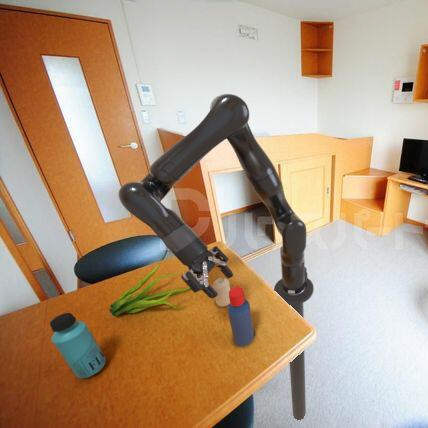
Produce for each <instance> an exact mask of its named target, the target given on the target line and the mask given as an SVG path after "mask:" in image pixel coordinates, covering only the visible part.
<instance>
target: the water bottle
mask: <svg viewBox="0 0 428 428" xmlns="http://www.w3.org/2000/svg"><path fill="white" fill-rule="evenodd" d="M227 306H228V307H227V314H228V319H229V324H230V328H231V334H232V339H233V343H234V344H235V346H237V347H245V346H248V345H249V344H251V343H252V341H254V338H255V331H254V323H253V317H252V311H251V304H250V302H249V301H248V300H247V299H246V298H245V301H244V303H243V304H242V305H240V306H236V307H235V306H232V305H231V304H228V305H227Z"/></svg>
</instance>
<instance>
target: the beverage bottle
mask: <svg viewBox="0 0 428 428" xmlns="http://www.w3.org/2000/svg"><path fill="white" fill-rule="evenodd" d="M49 326H50V328H51V329H50V330H52V332H53V334H52V336H51V340H50V341H51V342H52V344H53V345H54V346H55V347H56V349H57V350H58V352H59V354H60V355H61V356H62V357H63V359H64V360H65V361H64V362H65V363H66V365H67V366H68V367H69V369H70V370H71V372H72V374H73V375H74V376H75V377H77V378H78V379H88V378H89V377H92V376H95V375H96V374H97V373H99V372H100V371H101V370H102V369H103V368H104V366H105V364H106V363H107V362H106V355H105V354H104V351H103V349H102V348H101V346H100V345H99V343H98V341H96V340H97V339H96V338H95V336H94V335H93V333H92V331H91V329H90V328H89V327H88V326H87V323H86V322H85V321H82V320H77V318H76V317H75V316H74V315H73V313H72V312H64V313H61V314H59V315H57V316H55V317H54V318H53V319H51V321H50V322H49Z"/></svg>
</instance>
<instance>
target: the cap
mask: <svg viewBox="0 0 428 428" xmlns="http://www.w3.org/2000/svg"><path fill="white" fill-rule="evenodd" d="M229 299H230V304H231V305H232V306H235V307H236V306H240V305H242V304H243V303H244V301H245V299H246V298H245V292H244V288H243V287H241V286H234V287H232V288H230V291H229Z"/></svg>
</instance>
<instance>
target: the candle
mask: <svg viewBox="0 0 428 428" xmlns="http://www.w3.org/2000/svg"><path fill="white" fill-rule="evenodd" d="M211 287H212V288H213V289H214V290H215V291H216V292H217V293H218V295H217V296H216V297H214V299H215V303H216V305H217V306H218V307H221V308H222V307H227V306H229V304H230V299H229V291H230V290H231V285H230V280H229V278H227V277H218V278H217V279H216V280H214V281H213V282H212V284H211Z"/></svg>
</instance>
